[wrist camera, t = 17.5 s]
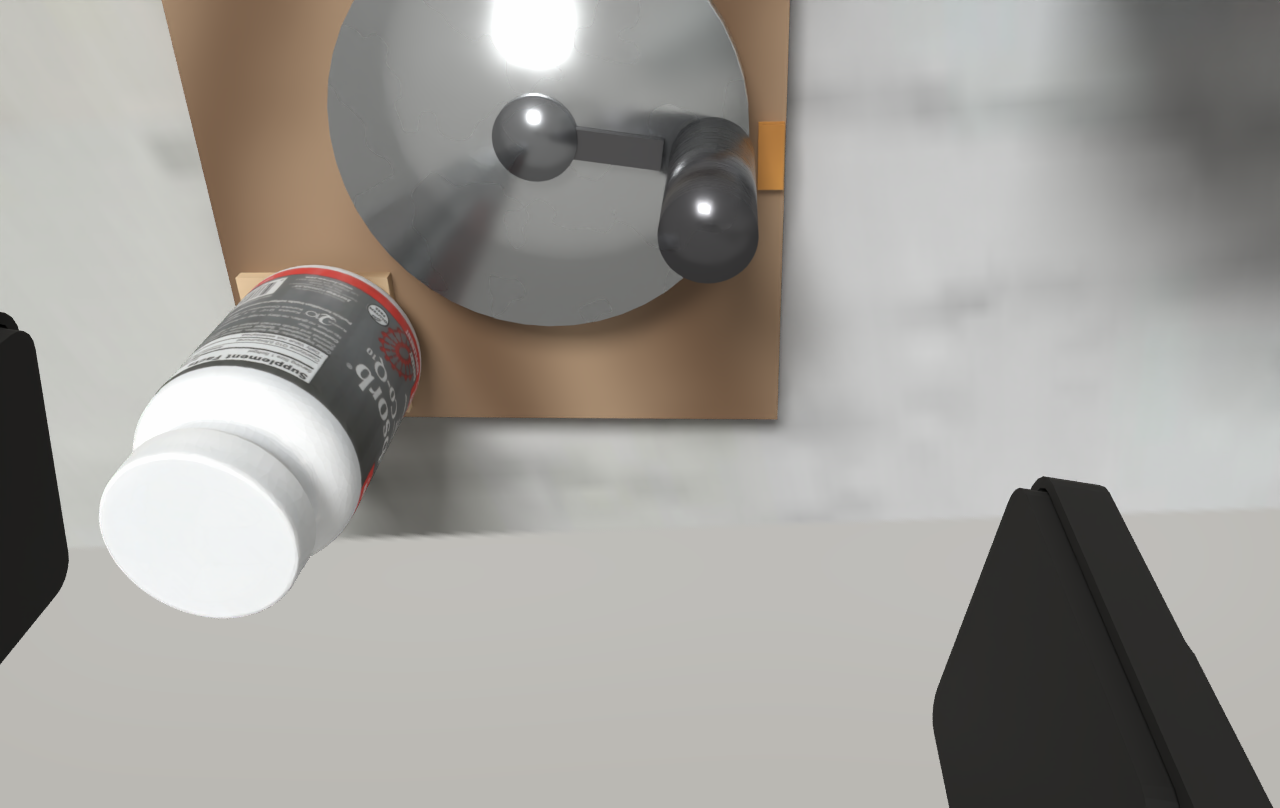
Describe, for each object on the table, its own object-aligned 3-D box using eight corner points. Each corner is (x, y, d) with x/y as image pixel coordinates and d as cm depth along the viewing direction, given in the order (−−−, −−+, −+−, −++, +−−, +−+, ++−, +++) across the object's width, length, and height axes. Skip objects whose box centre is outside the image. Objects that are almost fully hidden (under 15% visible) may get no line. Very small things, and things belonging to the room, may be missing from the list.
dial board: (791, -139, 28) (794, -133, 26) (776, 400, 35) (777, 426, 34) (156, -117, 29) (127, -111, 28) (275, 397, 37) (257, 422, 35)
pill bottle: (425, 435, 35) (326, 653, 27) (248, 412, 35) (92, 623, 27) (426, 270, 32) (315, 454, 24) (233, 245, 32) (53, 421, 24)
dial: (722, 335, 32) (720, 454, 27) (343, 284, 32) (263, 392, 27) (790, -68, 27) (806, -23, 21) (332, -129, 27) (229, -99, 21)
